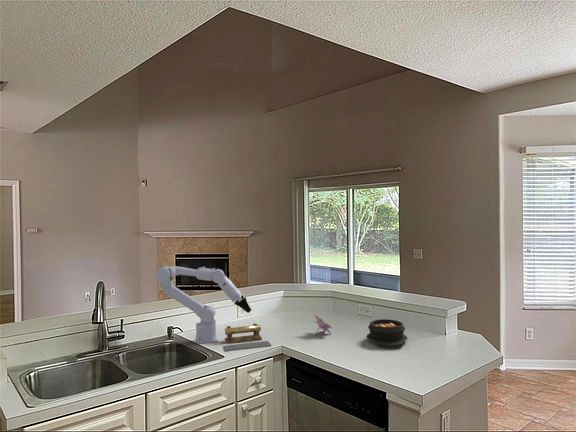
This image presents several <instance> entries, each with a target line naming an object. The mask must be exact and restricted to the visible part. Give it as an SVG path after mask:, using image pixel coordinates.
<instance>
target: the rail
mask: <svg viewBox="0 0 576 432" xmlns="http://www.w3.org/2000/svg"><path fill="white" fill-rule="evenodd" d="M255 330H259V332H261V331H262V328H261V324H257V325H254V326H253V325H246V326H236V327H231V328H227V327H226V328H224V334H225V336H227V335H229V333H232V335H237V334H247V333H253V332H255Z"/></svg>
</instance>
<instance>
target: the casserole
mask: <svg viewBox="0 0 576 432" xmlns="http://www.w3.org/2000/svg"><path fill="white" fill-rule="evenodd" d="M367 329H368V330H369V333H367V335H366V338H367V339H368V340H369V341H372V342H373V343H375V344H377V345H381V346H391V347H392V346H401V345H403V344H404V343H405V341H407V340H408V336H407V335H405V334H404V331H406V327H405V326H404V323H403V322H402V321H399V320H395V319H386V318H383V319H375V320H372V321H370V323H369V325H368V326H367Z"/></svg>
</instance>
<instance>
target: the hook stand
mask: <svg viewBox="0 0 576 432" xmlns="http://www.w3.org/2000/svg"><path fill="white" fill-rule="evenodd" d="M254 325H258V323H253V324H252V326H254ZM226 328H232V327H231V325H227V326H226ZM252 333H253V334H251V335H249V334H247V335H240V336H239V335H238V336H233V334H232V333H229V335H226V337H224V341H225V343H226V345H231V344H240V343H249V342H255V341H256V342H258V341H263V337H262V336H261V335H260V331H259V330H255V332H252Z"/></svg>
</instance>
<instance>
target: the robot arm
mask: <svg viewBox="0 0 576 432" xmlns="http://www.w3.org/2000/svg"><path fill="white" fill-rule="evenodd" d="M176 276H191V277H195V278H197V280H201V281H210V282H211V281H212V282H213V283H216V284H217V285H218V286H219V288H220V289H221V290H222V291H223V293H225V295H226V296H227V297H228V298H229V300H230V301H231V302H232V303H233V304H234V305H235V306H237V307H239V308H241V309H242V310H243V312H246V313H248V314H249V313H250V312H251V311H252V308H251V306H250V305H249V303H248V301H247V298H246V296H243V294H244V291H243V290H242V291H240V290H239V289H238V288H237V287H236V285H235V284H234V283H233V281H232V280H231V279H230V278H229V277H227V275H225V272H224V271H223V270H222V269H220V268H215V267H213V268H206V266H202V267H198V268H197V269H196V268H195V269H194V268H189V267H183V266H177V265H176V266H175V265H171V266H169V265H164V266H162V267H161V268H159V269H158V270H157V271H156V281H157V282H158V285H159V286H160V288H161V290H162V292H163V293H164V294H166V295H167V296H169V297H170V298H172V300H175V301H177V302H178V303H180V304H181V305H183V306H184V307H186V308H187V309H189V310H190V311H192V312H193V313H194V314H195V315H196V316H197V317H199V318H200V322H196V323H195V324H196V325H195V328H196V329H195V332H196V333H195V340H196V343H197V344H205V343H214V342H215V343H216V342H218V341H219V340H218V337H217V327H216V324H217V323H216V319H215V315H216V310H215V308H214V307H213V306H210V305H206V304H205V303H202V302H200V301H198V300H196V299H195V298H193V297H192V296H191V295H188V294H187V293H185V292H184V291H182V290H181V289H180V288H178V287H177V286H175V285H174V281H173V278H174V277H176Z"/></svg>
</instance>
